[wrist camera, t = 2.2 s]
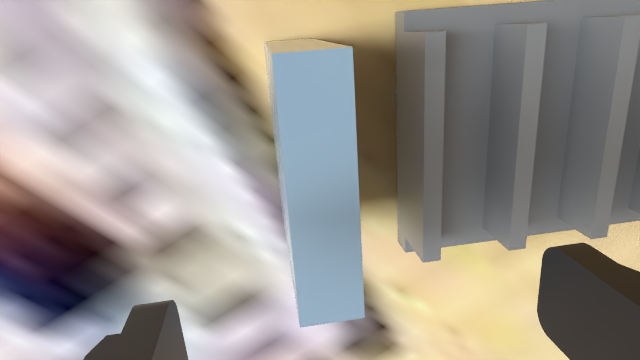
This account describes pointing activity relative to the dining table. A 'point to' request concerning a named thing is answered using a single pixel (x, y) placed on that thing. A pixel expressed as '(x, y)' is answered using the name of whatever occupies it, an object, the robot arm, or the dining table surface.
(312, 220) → the rectangular block
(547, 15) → the dish rack
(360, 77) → the dining table surface
